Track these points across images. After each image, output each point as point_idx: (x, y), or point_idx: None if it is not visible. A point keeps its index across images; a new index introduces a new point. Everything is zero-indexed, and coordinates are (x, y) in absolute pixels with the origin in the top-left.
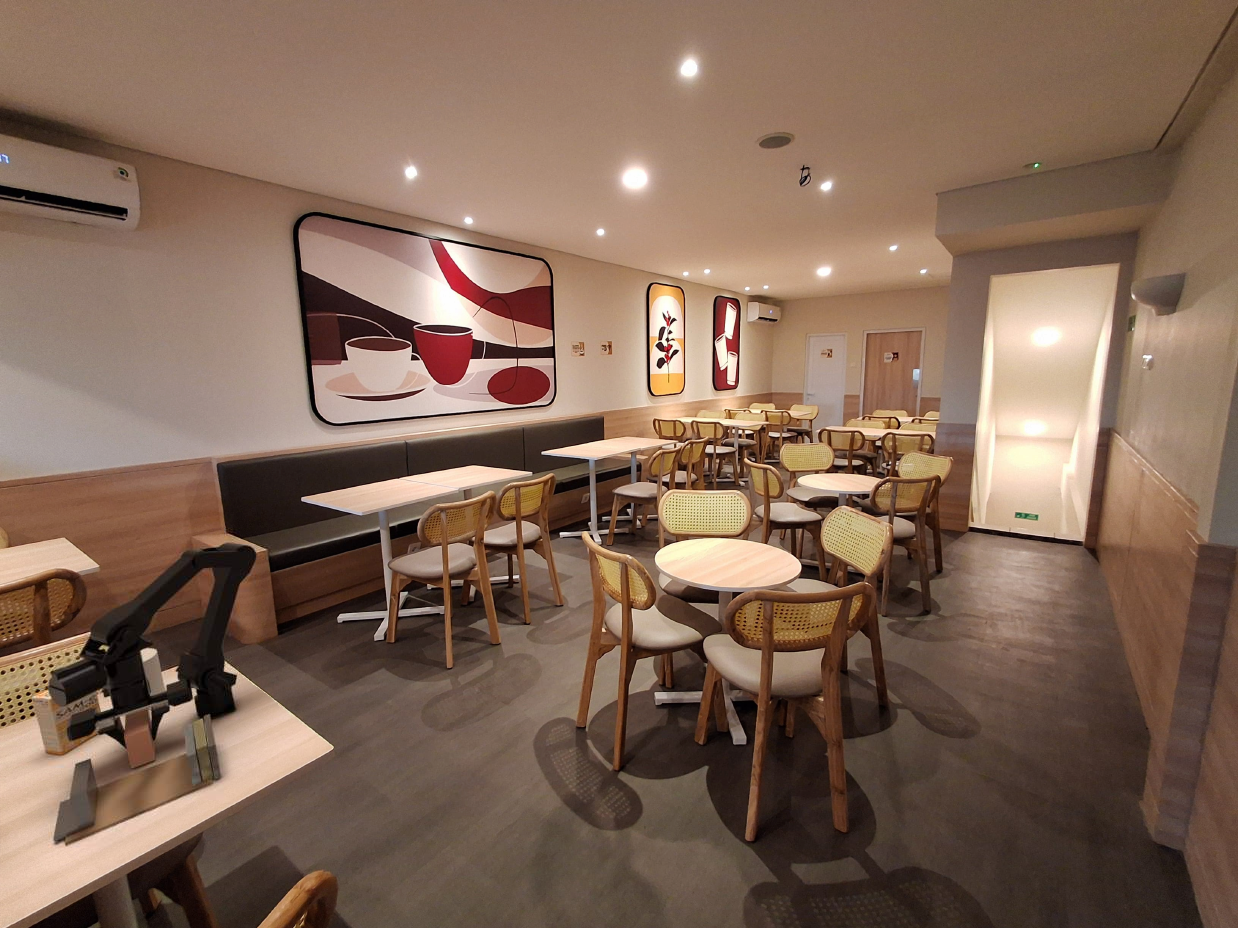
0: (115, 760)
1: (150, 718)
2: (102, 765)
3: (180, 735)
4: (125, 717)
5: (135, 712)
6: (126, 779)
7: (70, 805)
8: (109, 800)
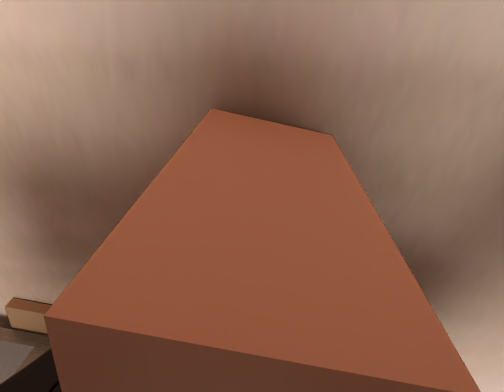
0: (129, 173)
1: (379, 223)
2: (73, 164)
3: (419, 222)
4: (62, 383)
5: (238, 358)
6: None
7: (12, 367)
8: None
